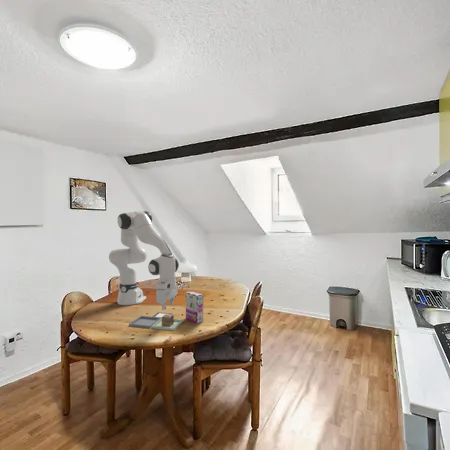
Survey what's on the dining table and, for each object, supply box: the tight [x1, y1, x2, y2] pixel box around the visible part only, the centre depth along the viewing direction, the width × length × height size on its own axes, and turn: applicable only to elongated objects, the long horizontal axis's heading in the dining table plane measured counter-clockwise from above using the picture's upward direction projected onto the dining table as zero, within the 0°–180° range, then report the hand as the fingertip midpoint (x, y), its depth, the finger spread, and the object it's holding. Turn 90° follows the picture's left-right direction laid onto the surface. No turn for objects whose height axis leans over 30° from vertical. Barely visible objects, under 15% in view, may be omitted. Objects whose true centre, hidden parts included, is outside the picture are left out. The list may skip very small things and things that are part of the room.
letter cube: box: [162, 314, 175, 327], centre depth 156 cm, size 5×5×5 cm
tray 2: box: [151, 318, 184, 331], centre depth 156 cm, size 13×13×2 cm
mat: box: [151, 311, 173, 318], centre depth 171 cm, size 10×10×1 cm
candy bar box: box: [185, 290, 204, 324], centre depth 164 cm, size 11×5×16 cm, turn 44°
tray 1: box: [128, 315, 161, 329], centre depth 159 cm, size 13×13×2 cm
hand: (167, 307), depth 156 cm, fingers open, 8 cm apart
